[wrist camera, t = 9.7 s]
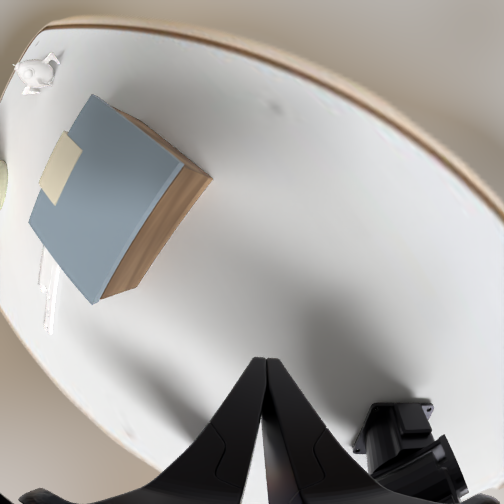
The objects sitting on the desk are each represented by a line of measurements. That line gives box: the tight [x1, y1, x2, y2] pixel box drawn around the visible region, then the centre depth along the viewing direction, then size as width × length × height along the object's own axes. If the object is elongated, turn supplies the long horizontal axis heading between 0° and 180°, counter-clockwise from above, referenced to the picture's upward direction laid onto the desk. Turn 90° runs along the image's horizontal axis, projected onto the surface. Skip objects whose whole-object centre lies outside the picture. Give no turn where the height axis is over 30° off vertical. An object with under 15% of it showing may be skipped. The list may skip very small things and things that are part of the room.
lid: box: [28, 94, 185, 305], centre depth 18 cm, size 11×12×2 cm
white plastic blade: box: [38, 245, 60, 335], centre depth 27 cm, size 5×15×1 cm, turn 156°
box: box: [100, 106, 213, 299], centre depth 21 cm, size 10×12×5 cm
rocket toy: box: [13, 52, 60, 95], centre depth 22 cm, size 5×5×8 cm
